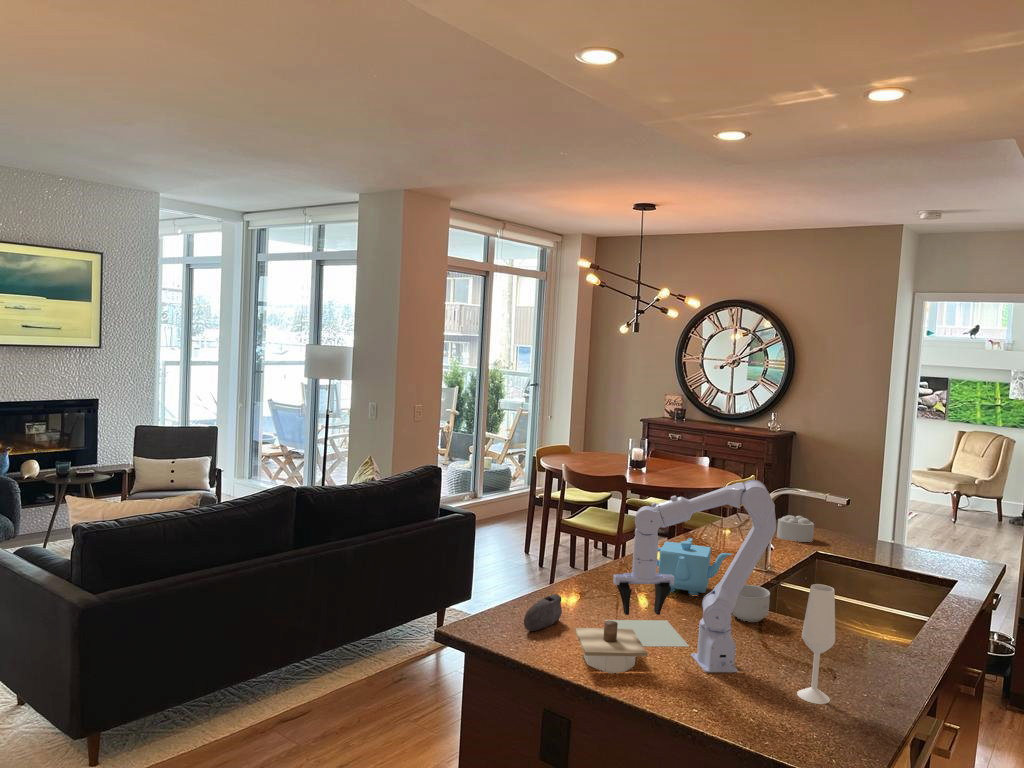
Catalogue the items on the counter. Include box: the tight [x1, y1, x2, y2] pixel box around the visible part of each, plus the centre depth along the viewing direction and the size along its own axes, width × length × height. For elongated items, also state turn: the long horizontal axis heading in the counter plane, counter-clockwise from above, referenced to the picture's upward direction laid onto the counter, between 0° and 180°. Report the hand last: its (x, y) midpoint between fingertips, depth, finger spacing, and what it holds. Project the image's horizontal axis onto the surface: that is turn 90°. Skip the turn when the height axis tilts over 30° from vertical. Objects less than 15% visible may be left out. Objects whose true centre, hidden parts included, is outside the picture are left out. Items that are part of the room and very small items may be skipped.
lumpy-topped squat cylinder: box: [776, 514, 815, 543], centre depth 305 cm, size 10×13×9 cm
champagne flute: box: [796, 583, 836, 705], centre depth 168 cm, size 7×7×24 cm
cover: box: [574, 620, 648, 658], centre depth 180 cm, size 14×14×5 cm
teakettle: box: [657, 537, 733, 596], centre depth 235 cm, size 19×19×15 cm
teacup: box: [731, 584, 771, 623], centre depth 215 cm, size 14×11×8 cm
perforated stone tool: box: [523, 593, 563, 632], centre depth 200 cm, size 15×5×7 cm, turn 141°
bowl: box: [583, 653, 636, 674], centre depth 180 cm, size 11×11×4 cm
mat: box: [604, 619, 690, 648], centre depth 198 cm, size 17×17×1 cm
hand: (641, 613), depth 186 cm, fingers open, 7 cm apart
